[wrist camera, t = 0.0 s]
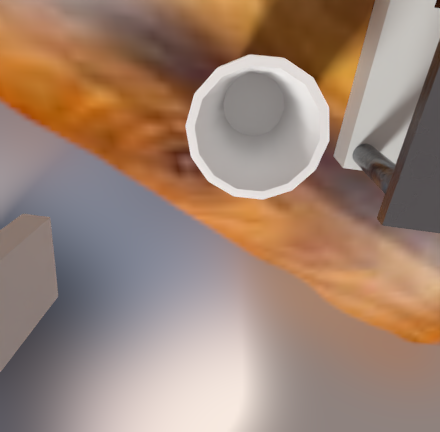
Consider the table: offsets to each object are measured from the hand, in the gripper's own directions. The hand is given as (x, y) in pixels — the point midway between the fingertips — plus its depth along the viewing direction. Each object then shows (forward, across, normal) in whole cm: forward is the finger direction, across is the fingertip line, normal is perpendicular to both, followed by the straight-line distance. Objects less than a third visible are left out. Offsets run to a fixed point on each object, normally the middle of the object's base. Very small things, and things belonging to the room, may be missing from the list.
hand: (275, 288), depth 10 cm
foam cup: (+28, 0, +1) cm, 28 cm away
